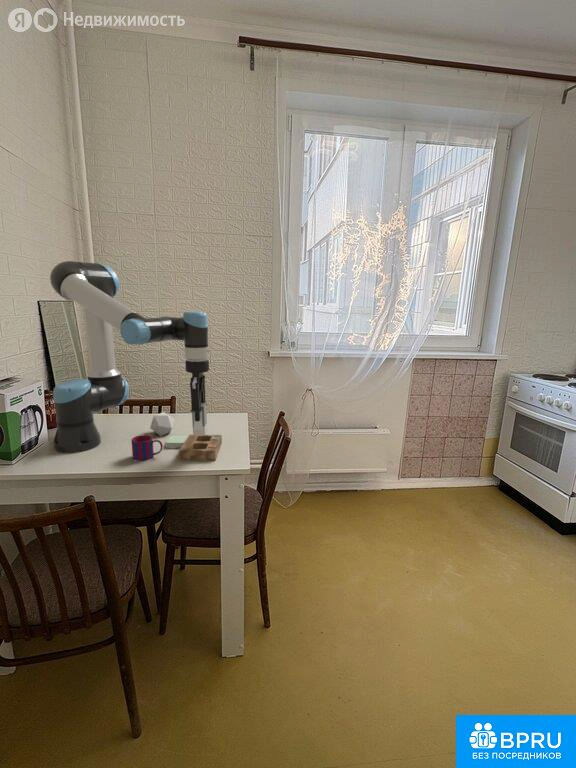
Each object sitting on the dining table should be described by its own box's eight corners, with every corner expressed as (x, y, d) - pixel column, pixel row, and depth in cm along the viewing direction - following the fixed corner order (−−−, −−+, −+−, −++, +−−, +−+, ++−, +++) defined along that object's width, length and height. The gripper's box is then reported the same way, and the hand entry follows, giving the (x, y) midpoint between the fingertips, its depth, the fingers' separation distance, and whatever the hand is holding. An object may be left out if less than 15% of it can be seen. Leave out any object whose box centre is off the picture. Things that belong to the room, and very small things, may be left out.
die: (177, 436, 151) (179, 413, 156) (159, 431, 145) (162, 406, 149) (162, 440, 156) (165, 417, 160) (144, 435, 149) (147, 411, 153)
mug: (138, 452, 134) (137, 434, 132) (166, 454, 133) (165, 436, 131) (128, 460, 127) (127, 441, 126) (157, 462, 126) (156, 443, 125)
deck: (166, 447, 139) (165, 442, 138) (171, 440, 145) (171, 435, 145) (185, 448, 139) (185, 442, 138) (189, 440, 146) (189, 435, 145)
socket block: (179, 460, 129) (179, 449, 128) (189, 443, 143) (189, 434, 142) (215, 460, 129) (215, 450, 128) (221, 443, 144) (221, 434, 143)
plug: (193, 435, 129) (191, 406, 126) (195, 431, 133) (194, 403, 130) (204, 435, 129) (203, 406, 127) (207, 431, 133) (206, 403, 130)
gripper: (203, 364, 117) (206, 436, 122) (212, 355, 134) (214, 419, 139) (179, 363, 117) (182, 436, 122) (191, 355, 133) (194, 419, 138)
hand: (199, 427), depth 130 cm, fingers closed on plug, 4 cm apart
